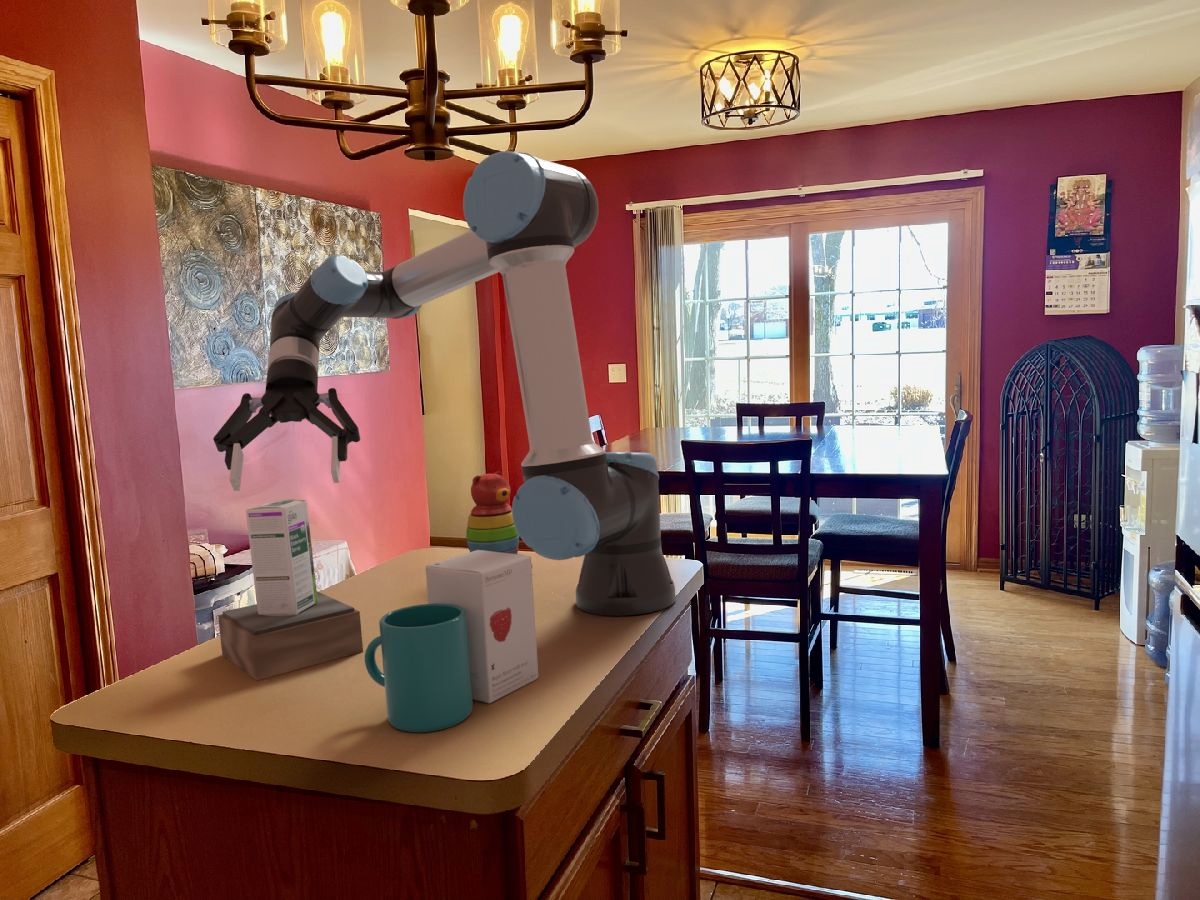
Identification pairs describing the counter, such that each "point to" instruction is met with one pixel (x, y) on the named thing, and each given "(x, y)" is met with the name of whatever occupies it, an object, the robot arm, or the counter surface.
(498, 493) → the stacking bear
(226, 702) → the counter surface
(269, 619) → the plinth
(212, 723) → the counter surface
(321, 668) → the counter surface
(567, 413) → the robot arm
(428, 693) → the cup
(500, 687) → the supplement box
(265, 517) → the syrup box
